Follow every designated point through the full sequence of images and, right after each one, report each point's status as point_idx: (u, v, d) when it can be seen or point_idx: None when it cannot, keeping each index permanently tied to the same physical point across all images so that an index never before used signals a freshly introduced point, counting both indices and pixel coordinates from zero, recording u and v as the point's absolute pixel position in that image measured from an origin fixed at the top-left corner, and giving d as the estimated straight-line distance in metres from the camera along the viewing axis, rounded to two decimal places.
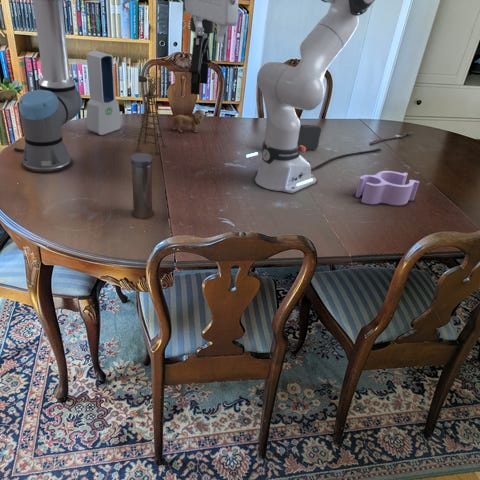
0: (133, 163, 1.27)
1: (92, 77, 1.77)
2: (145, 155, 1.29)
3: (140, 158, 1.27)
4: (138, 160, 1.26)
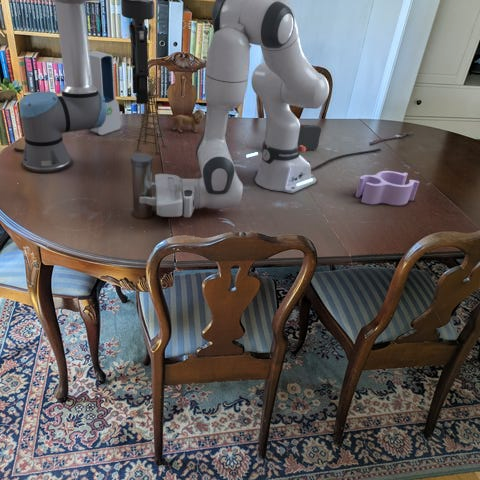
0: (133, 163, 1.27)
1: (92, 77, 1.77)
2: (145, 155, 1.29)
3: (140, 158, 1.27)
4: (138, 160, 1.26)
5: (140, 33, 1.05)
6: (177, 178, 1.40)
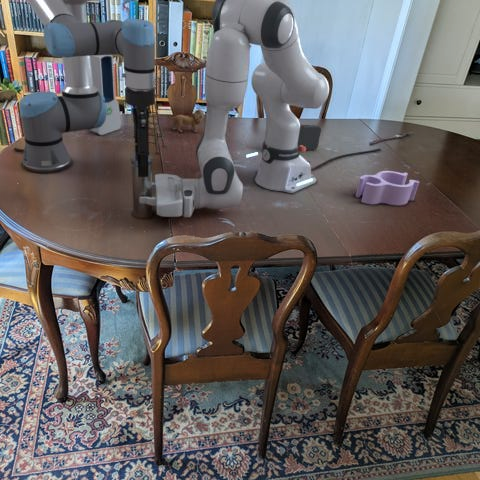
0: (133, 163, 1.27)
1: (92, 77, 1.77)
2: None
3: None
4: None
5: (142, 122, 1.16)
6: (177, 178, 1.40)
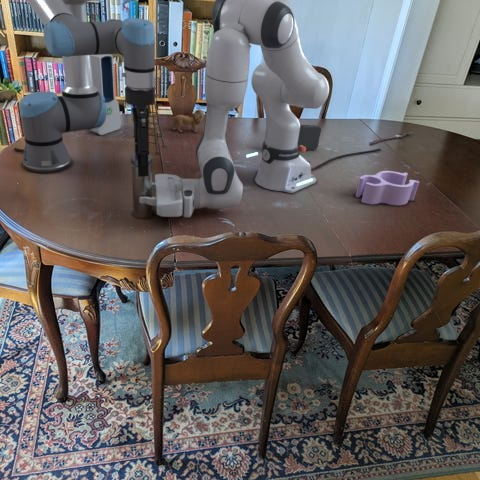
0: (149, 163, 1.27)
1: (92, 77, 1.77)
2: (136, 155, 1.28)
3: None
4: (149, 157, 1.28)
5: (142, 121, 1.16)
6: (177, 178, 1.40)
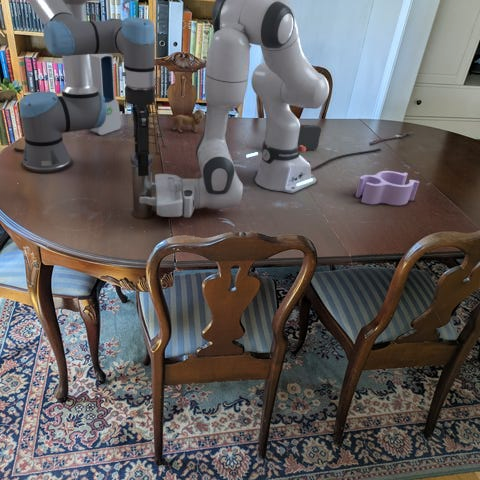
0: None
1: (92, 77, 1.77)
2: None
3: None
4: None
5: (142, 121, 1.16)
6: (177, 178, 1.40)
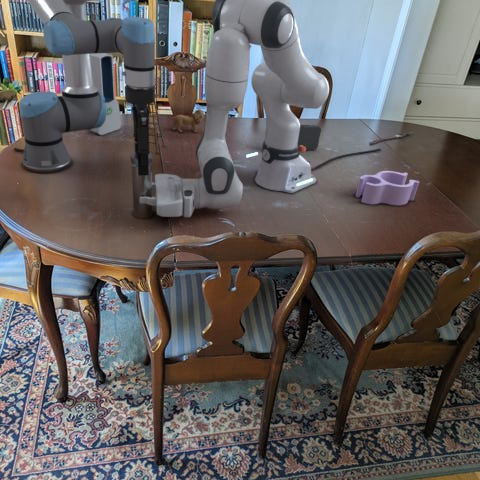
0: None
1: (92, 77, 1.77)
2: None
3: None
4: (133, 156, 1.27)
5: (142, 120, 1.16)
6: (177, 178, 1.40)
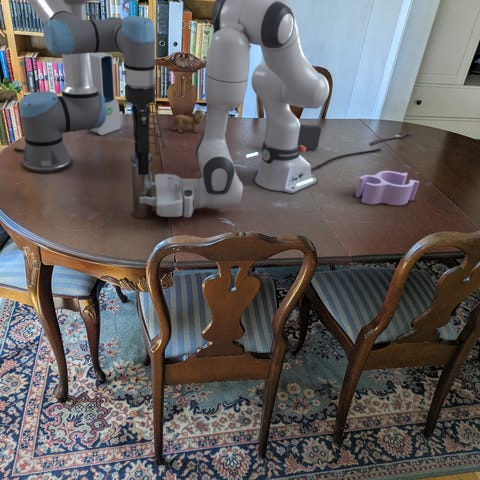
0: None
1: (92, 77, 1.77)
2: None
3: None
4: None
5: (142, 119, 1.16)
6: (177, 178, 1.40)
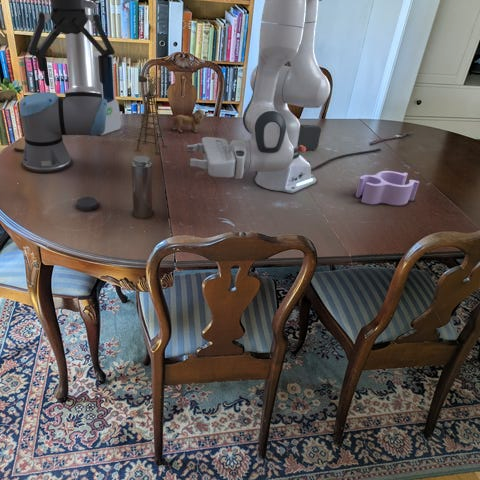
0: (97, 204, 1.39)
1: None
2: (81, 202, 1.37)
3: (89, 200, 1.38)
4: (94, 199, 1.39)
5: None
6: (224, 141, 1.37)
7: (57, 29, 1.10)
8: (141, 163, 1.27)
